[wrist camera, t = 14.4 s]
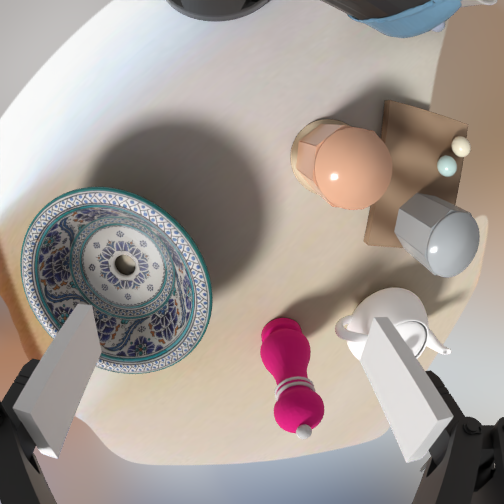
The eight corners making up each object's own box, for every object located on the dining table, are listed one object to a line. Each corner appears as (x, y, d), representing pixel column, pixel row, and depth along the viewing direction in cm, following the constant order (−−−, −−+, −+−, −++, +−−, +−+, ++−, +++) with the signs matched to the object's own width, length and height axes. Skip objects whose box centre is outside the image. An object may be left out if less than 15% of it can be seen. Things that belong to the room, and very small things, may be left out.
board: (384, 100, 37) (390, 100, 35) (461, 123, 38) (467, 124, 36) (363, 241, 44) (367, 245, 43) (438, 246, 45) (443, 250, 44)
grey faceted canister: (402, 190, 40) (438, 208, 32) (447, 198, 41) (485, 216, 32) (390, 248, 43) (421, 276, 35) (435, 251, 44) (468, 277, 36)
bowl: (239, 202, 41) (241, 225, 32) (191, 350, 50) (186, 393, 41) (63, 154, 37) (25, 165, 28) (50, 306, 45) (24, 340, 36)
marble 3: (464, 136, 34) (477, 147, 34) (454, 129, 36) (467, 140, 37) (453, 153, 36) (467, 164, 36) (444, 145, 38) (457, 155, 39)
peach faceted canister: (300, 121, 37) (320, 121, 29) (364, 131, 38) (397, 135, 29) (293, 187, 40) (310, 205, 32) (355, 194, 41) (385, 213, 33)
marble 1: (422, 14, 32) (422, 13, 30) (441, 12, 30) (441, 11, 28) (428, 32, 33) (428, 32, 31) (447, 31, 31) (447, 31, 29)
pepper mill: (250, 343, 50) (261, 448, 31) (271, 308, 47) (294, 413, 29) (289, 355, 51) (313, 456, 33) (312, 323, 49) (349, 423, 31)
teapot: (309, 341, 50) (325, 388, 41) (342, 266, 46) (369, 305, 36) (411, 353, 54) (436, 391, 44) (445, 292, 49) (479, 325, 39)
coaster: (294, 114, 37) (295, 114, 36) (368, 126, 38) (370, 126, 37) (286, 191, 41) (287, 192, 40) (358, 198, 42) (360, 199, 41)
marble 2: (447, 157, 35) (461, 173, 35) (446, 147, 37) (460, 162, 37) (432, 170, 38) (446, 184, 38) (433, 159, 39) (446, 173, 39)
